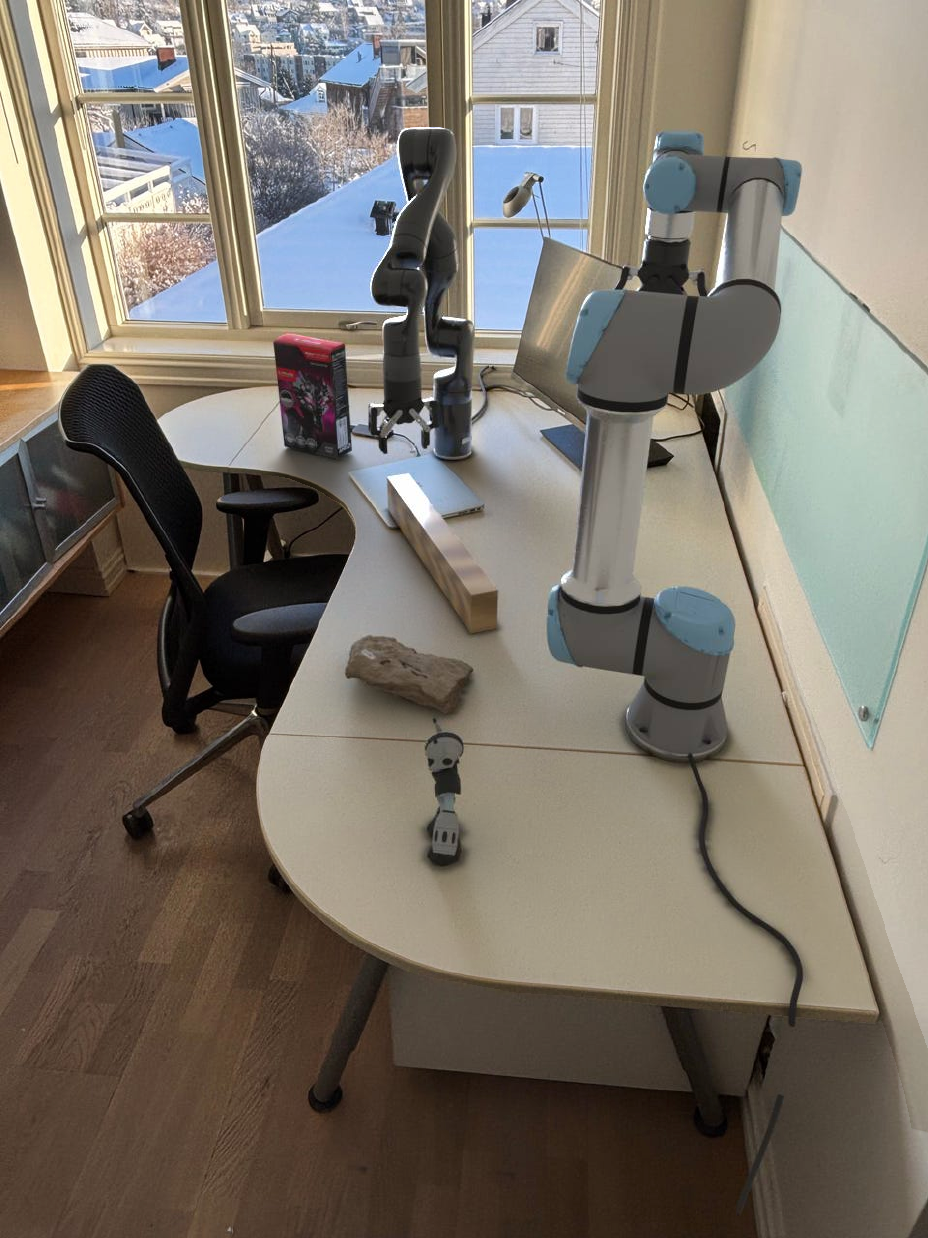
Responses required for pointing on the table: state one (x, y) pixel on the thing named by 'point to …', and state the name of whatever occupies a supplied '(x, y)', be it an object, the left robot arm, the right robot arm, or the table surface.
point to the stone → (408, 672)
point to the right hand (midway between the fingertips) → (652, 364)
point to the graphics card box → (313, 395)
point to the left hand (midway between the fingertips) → (404, 449)
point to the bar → (443, 554)
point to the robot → (444, 794)
